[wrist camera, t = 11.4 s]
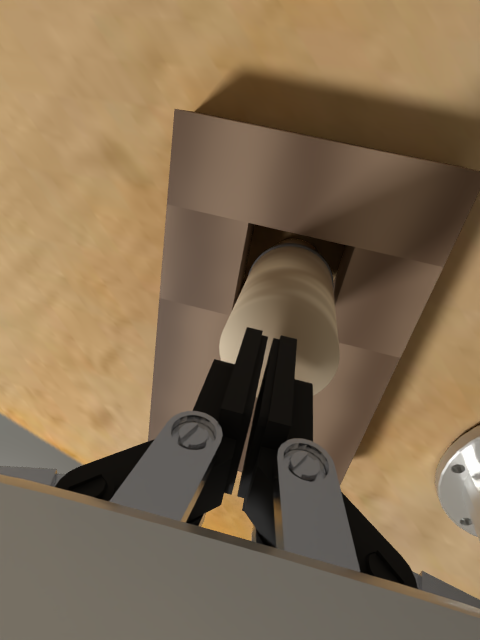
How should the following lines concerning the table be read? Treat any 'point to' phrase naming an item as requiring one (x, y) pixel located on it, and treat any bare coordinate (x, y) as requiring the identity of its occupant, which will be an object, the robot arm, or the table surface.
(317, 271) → the beech leg
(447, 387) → the table surface
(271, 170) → the walnut board
